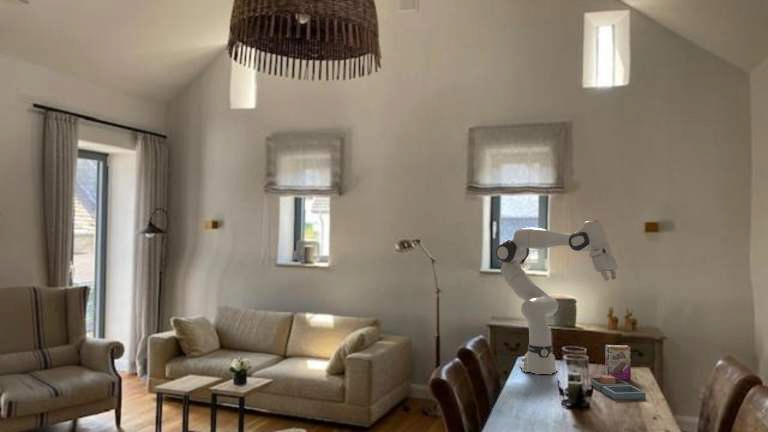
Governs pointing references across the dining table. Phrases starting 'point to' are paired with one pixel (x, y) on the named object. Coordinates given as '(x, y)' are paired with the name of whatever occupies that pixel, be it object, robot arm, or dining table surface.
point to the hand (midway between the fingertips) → (610, 279)
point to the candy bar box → (618, 361)
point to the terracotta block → (607, 379)
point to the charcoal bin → (598, 386)
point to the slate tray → (624, 392)
